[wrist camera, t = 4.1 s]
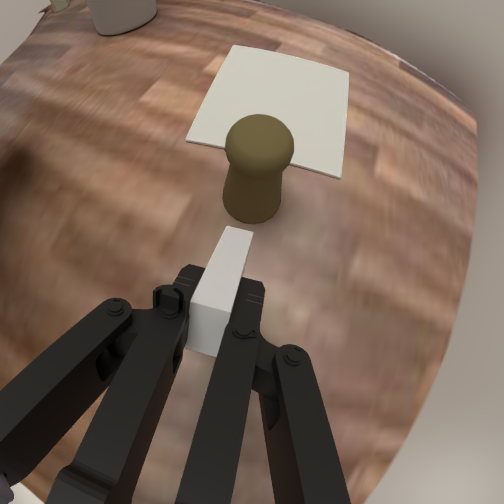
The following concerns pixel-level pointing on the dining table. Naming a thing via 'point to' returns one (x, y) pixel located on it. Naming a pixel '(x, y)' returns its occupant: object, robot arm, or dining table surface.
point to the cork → (256, 167)
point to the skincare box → (59, 4)
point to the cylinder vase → (120, 14)
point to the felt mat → (279, 104)
